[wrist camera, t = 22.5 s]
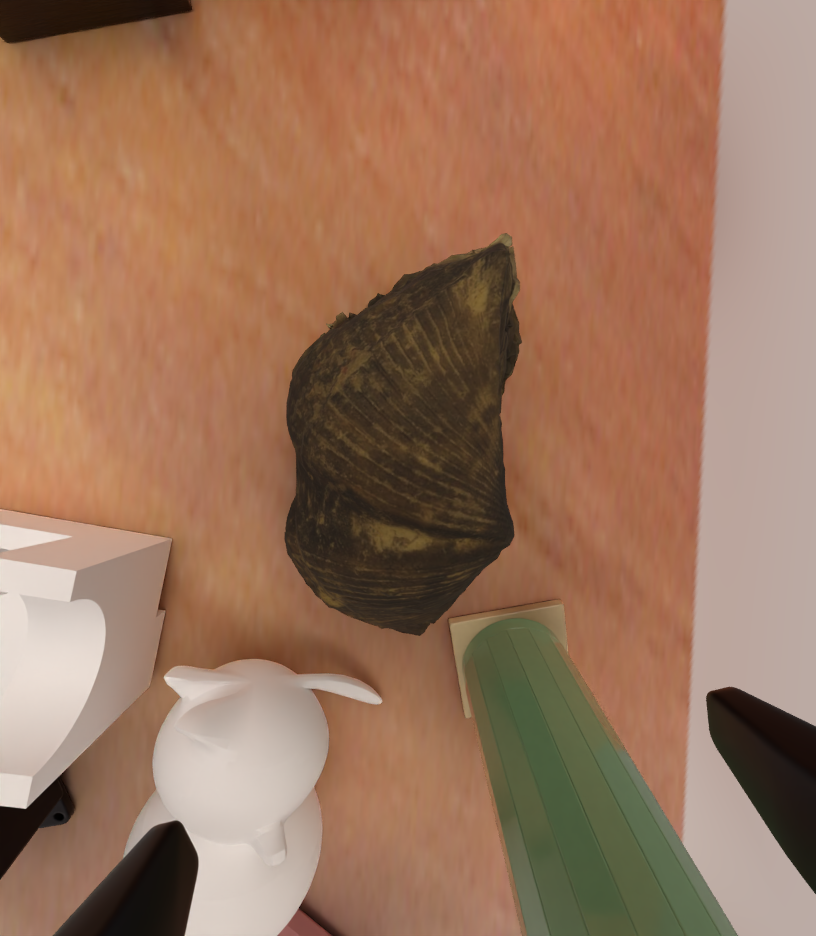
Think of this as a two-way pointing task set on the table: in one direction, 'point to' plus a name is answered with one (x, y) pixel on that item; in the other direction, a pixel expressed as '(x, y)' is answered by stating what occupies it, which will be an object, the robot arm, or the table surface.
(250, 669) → the cat figurine
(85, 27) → the black open box
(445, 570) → the seashell
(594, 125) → the table surface
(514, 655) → the green cylinder
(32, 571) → the bracket
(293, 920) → the yellow mantel clock
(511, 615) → the coaster
